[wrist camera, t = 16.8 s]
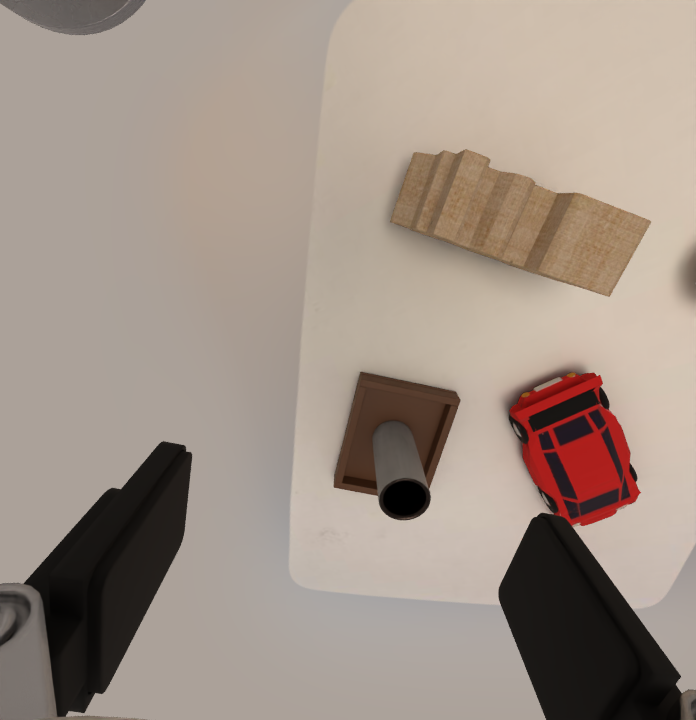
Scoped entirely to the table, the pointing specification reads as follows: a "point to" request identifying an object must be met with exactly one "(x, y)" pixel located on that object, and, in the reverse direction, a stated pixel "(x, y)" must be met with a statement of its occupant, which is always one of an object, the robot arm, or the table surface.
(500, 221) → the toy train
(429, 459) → the tray
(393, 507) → the grey hollow cylinder
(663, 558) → the table surface
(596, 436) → the toy car
